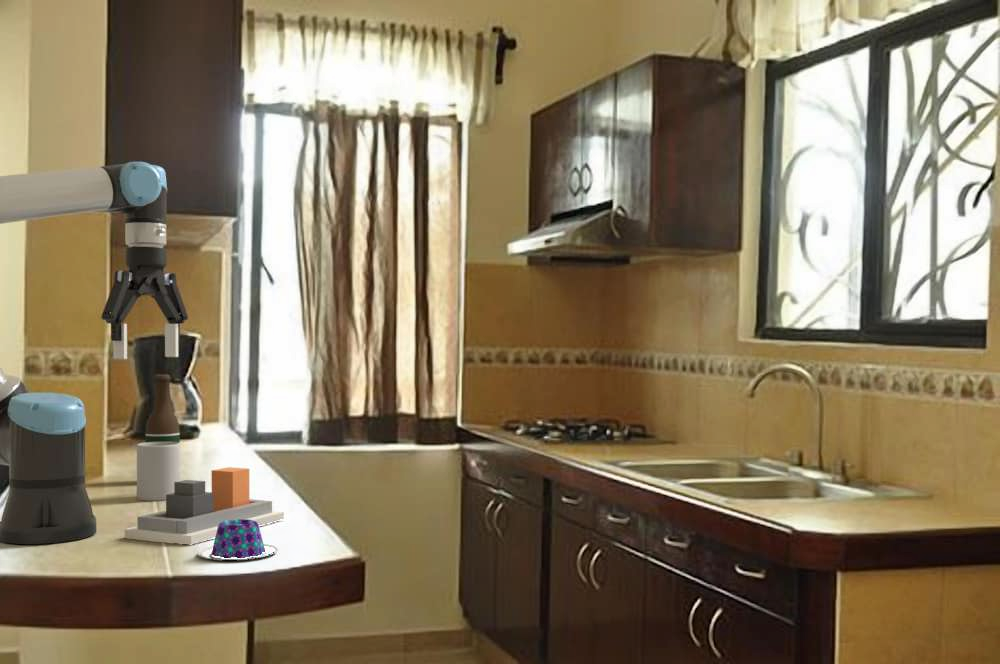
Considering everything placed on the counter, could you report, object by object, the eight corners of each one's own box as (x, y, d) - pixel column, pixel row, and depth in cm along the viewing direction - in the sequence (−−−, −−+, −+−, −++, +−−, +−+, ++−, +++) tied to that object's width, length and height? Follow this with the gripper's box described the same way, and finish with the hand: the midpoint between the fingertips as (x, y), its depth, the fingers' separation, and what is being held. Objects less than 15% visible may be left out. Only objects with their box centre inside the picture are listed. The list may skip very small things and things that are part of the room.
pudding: (251, 545, 173) (251, 512, 173) (293, 556, 165) (293, 521, 165) (182, 556, 165) (182, 521, 165) (223, 568, 156) (223, 532, 156)
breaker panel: (191, 545, 171) (191, 523, 171) (124, 538, 177) (124, 516, 177) (283, 520, 193) (283, 501, 193) (221, 514, 199) (221, 495, 199)
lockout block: (232, 517, 188) (232, 471, 187) (211, 516, 189) (211, 470, 189) (249, 513, 192) (249, 468, 192) (228, 511, 194) (228, 467, 194)
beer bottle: (153, 485, 236) (152, 375, 236) (138, 481, 242) (138, 374, 242) (186, 482, 241) (186, 374, 241) (171, 478, 247) (171, 373, 247)
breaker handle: (193, 527, 178) (193, 484, 178) (166, 524, 180) (166, 482, 180) (213, 522, 182) (213, 480, 182) (186, 519, 185) (186, 478, 185)
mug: (178, 500, 216) (178, 445, 216) (133, 501, 214) (133, 446, 214) (184, 491, 228) (184, 439, 228) (142, 492, 226) (141, 440, 226)
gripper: (111, 241, 194) (112, 360, 194) (205, 250, 216) (206, 356, 216) (80, 243, 197) (81, 359, 197) (176, 251, 219) (177, 355, 219)
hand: (146, 358), depth 207 cm, fingers open, 13 cm apart
